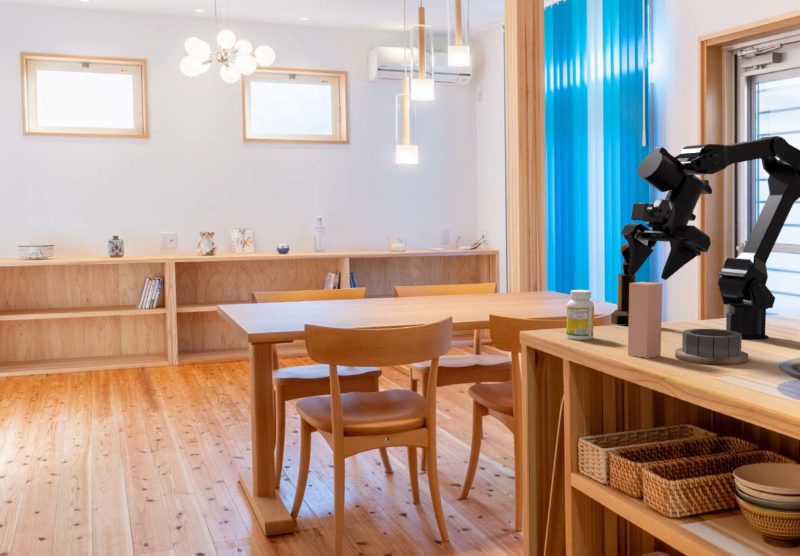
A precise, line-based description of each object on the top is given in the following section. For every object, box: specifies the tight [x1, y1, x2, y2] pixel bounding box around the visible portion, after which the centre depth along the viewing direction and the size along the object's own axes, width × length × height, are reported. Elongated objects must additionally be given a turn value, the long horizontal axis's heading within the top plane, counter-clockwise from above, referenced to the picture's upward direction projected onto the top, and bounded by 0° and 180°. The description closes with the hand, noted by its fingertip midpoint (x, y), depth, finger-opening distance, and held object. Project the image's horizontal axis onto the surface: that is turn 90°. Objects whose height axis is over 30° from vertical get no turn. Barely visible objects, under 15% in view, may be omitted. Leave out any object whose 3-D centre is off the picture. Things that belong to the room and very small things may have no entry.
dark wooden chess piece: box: [610, 243, 637, 326], centre depth 187 cm, size 7×6×18 cm
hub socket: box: [674, 328, 749, 366], centre depth 146 cm, size 12×12×4 cm
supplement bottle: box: [566, 289, 595, 341], centre depth 168 cm, size 5×5×10 cm
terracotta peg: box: [627, 281, 663, 359], centre depth 148 cm, size 4×4×13 cm
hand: (646, 276), depth 157 cm, fingers open, 9 cm apart
